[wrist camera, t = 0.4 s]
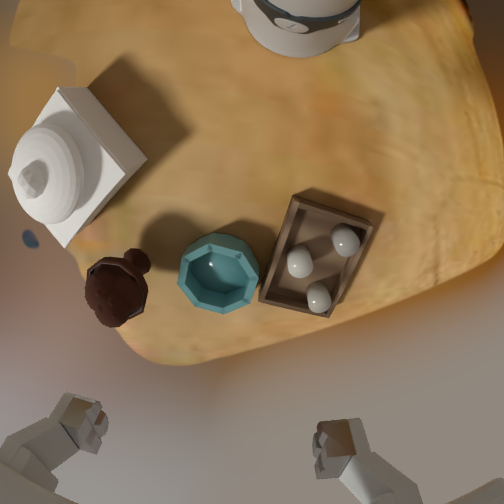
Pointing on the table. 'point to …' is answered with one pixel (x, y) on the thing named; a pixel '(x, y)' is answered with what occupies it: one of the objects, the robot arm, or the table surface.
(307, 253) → the pebble
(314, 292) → the pebble
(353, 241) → the pebble
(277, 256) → the tray
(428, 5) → the table surface
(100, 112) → the butter dish
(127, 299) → the ice cream bowl
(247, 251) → the bowl
